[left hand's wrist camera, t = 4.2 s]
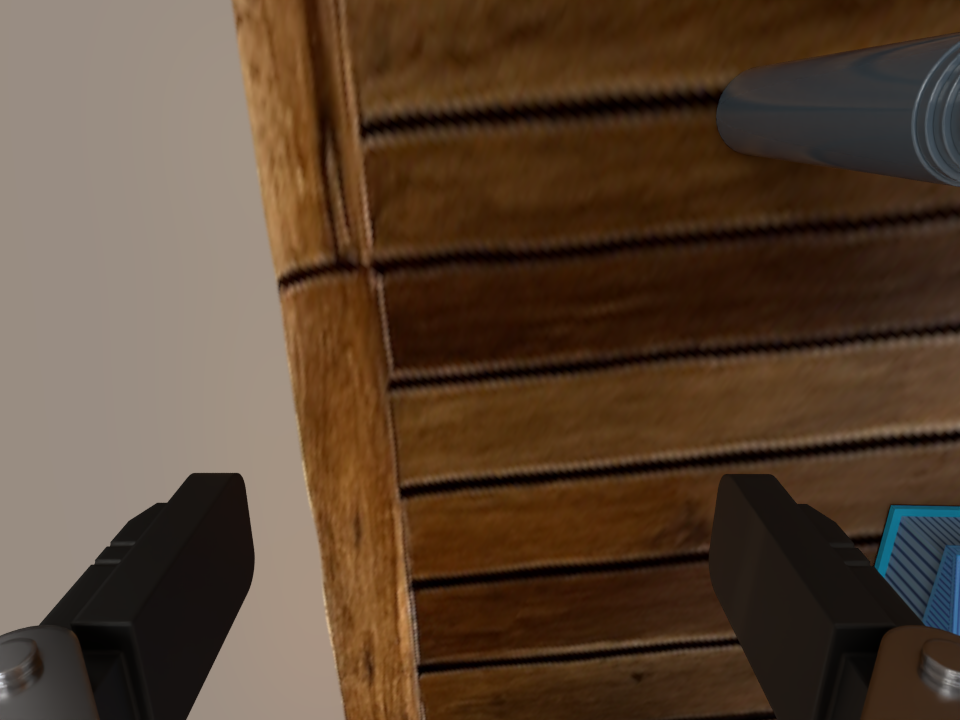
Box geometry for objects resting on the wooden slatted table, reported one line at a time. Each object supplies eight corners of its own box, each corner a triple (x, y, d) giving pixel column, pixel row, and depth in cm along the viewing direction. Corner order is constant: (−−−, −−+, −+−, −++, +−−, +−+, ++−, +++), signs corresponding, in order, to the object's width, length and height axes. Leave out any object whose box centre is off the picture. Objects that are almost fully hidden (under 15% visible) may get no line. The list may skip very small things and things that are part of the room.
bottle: (699, 130, 41) (984, 151, 18) (747, 49, 39) (1127, -42, 16) (767, 169, 42) (1124, 238, 19) (817, 92, 40) (1273, 61, 17)
